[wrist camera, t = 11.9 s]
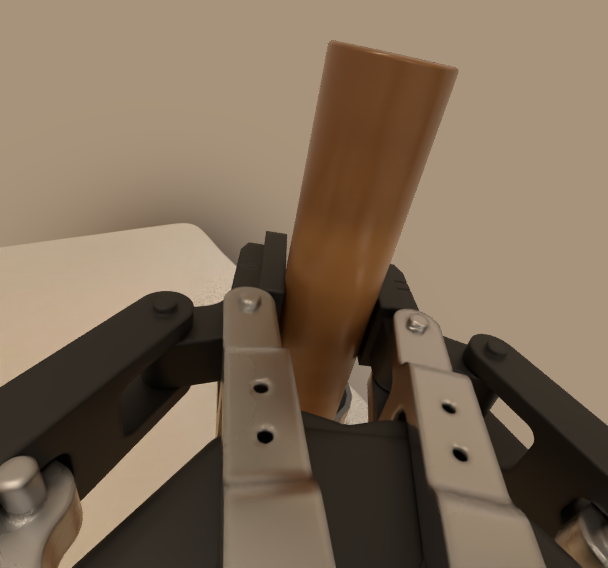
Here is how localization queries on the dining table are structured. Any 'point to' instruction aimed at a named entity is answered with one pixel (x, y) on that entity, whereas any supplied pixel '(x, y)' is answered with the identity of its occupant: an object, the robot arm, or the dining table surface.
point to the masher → (354, 206)
